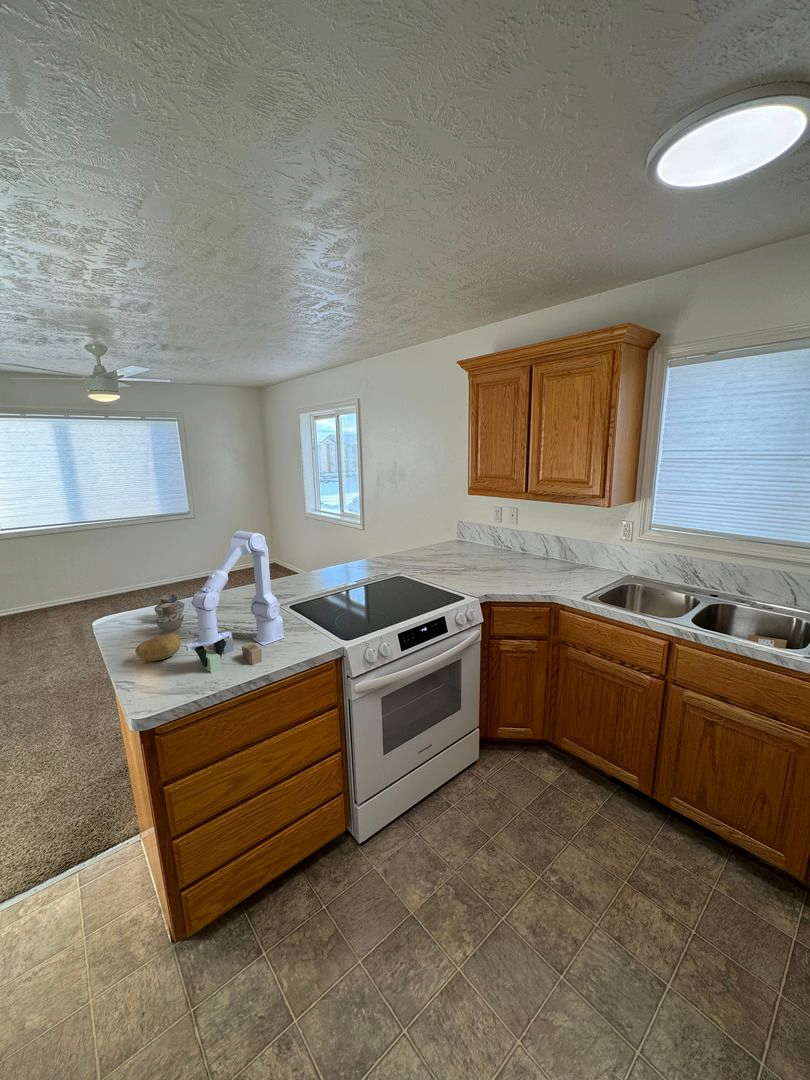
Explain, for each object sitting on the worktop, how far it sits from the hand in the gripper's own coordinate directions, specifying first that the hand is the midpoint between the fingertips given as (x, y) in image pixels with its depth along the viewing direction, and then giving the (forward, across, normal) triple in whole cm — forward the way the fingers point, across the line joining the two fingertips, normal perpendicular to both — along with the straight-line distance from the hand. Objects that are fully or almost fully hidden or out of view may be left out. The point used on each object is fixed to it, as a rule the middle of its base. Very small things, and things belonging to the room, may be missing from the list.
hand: (211, 663), depth 147 cm
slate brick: (+2, -9, -10) cm, 14 cm away
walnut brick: (+2, -12, +5) cm, 13 cm away
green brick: (+2, 0, 0) cm, 2 cm away
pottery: (+2, -3, -46) cm, 46 cm away
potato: (+2, +10, -19) cm, 22 cm away
